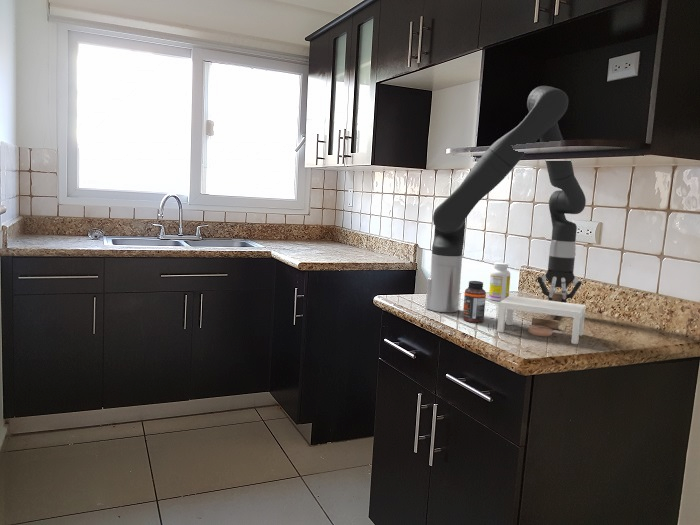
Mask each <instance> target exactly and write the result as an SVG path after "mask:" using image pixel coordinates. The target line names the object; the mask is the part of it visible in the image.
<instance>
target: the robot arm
mask: <svg viewBox="0 0 700 525" xmlns="http://www.w3.org/2000/svg"><path fill="white" fill-rule="evenodd" d="M568 106H569V96H568V95H567V93H566V92H565V91H563V90H562V89H560V88H556V87H553V86H548V85H540V86H537V87H535V88H534V89H532V91H530V93H529V95H528V97H527V101H526V108H527V109H528V113H527V115H525V117H524V118H523V120H522V121H520V122H519V124H518V125H517V126H515V127H513V129H511V130H510V131H508V132H506V133H505V134H504V135H503V136H501V137H500V138H498V139H497V140H496V141H494V142H493V143H492V144H491V145H490V146H489V148H488V149H486V150H485V152H484V153H483V154H482V156H481V157H480V158H479V159H478V160H477V162H476V163H474V165H473V167H472V168H471V170H470V171H469V172H468V174H467V175H466V176H465V177H464V179H463V181H462V182H461V183H460V184H459V185H458V187H457V188H456V189H455V190H454V191H453V192H452V193H451V194H450V195H449V196H448V197H447V198H446V199H444V201H442V203H440V204H439V205H438V206H437V207H436V208H435V210H434V212H433V214H432V222H433V225H434V235H433V236H434V237H433V241H432V242H433V243H432V246H431V263H430V277H428V278H427V289H426V303H425V304H426V306H425V308H426V310H430V311H433V312H440V313H457V312H458V311H459V306H460V293H461V292H460V290H461V278H462V277H461V275H462V262H463V253H464V252H463V250H464V245H465V244H464V243H465V232H466V219H467V217H468V216H469V215H470V213H471V212H472V211H473V209H475V206H476V205H477V204H478V203H479V202H480V201H481V200H482V199H483V198H484V197H485V196H487V195H488V194H490V193H491V191H492V190H494V189H495V188H496V187H497V186H498V185H499V184H500V183H501V182H502V181H503V180H504V179H505V178H506V177H507V176H508V175H509V173H511V171H513V169H514V168H515V167H516V165H517V164H518V163H520V161H521V159H522V158H523V157H524V156H526V154H527V153H524V152H518V151H515V150H513V148H512V146H511V145H513V146H514V145H516V144H526V143H534V144H535V143H536V142H537V141H538V140H539V142H540V143H541V142H549V141H560V140H564V138H563V135H562V133H561V130H560V127H559V123H558V121H560V120H561V118H562V117H563V116H565V115H564V114H565V113H566V112H567V110H568ZM571 161H572V160H571ZM571 161H546V160H545V164H546V169H547V173H548V178H549V179H548V180H549V182H550V184H551V185H552V186H553V187H555V188H557V189H558V190H555V191H554V192H553V193H551V195H550V197H549V199H548V209H549V214H550V219H551V225H552V226H551V228H552V232H551V239H550V240H551V241H550V245H549V253H548V254H549V255H548V261H547V262H548V264H547V271H546V273H545V275H541V276H538V277H537V282H538V284H539V286H540V288H541V292H542V294H543V295H544V296H547V297H548V301H552V298H553V294H554V293H555V292H556V289H557V288H560V289H561V292H562V302H564V303H567V300H568V299H572V298H573V297H574V296H575V294H576V293H577V291H578V290H579V289H580V287H581V285H582V284H583V281H582V280H578V279H577V278H576V276H575V274H574V268H575V259H576V249H577V248H576V242H577V241H576V240H577V239H576V237H577V229H578V227H577V224H576V223H575V222H572V221H570V220H568V219H567V217H566V215H567V214H568V215H569V214H570V215H580V214H581V213H582V212H583V211H584V210H585V208H586V203H587V201H586V200H587V199H586V195H585V193H584V191H583V189H582V187H581V186H580V184H579V182H578V180H577V178H576V177H575V176H576V175H575V172H574V167H573V162H571ZM565 214H566V215H565ZM546 280H547V281H548V282H549V285H550V289H549V290H548V287H547V286H546V282H547V281H546ZM572 283H573V286H574V287H573V288H572V290H571V291H570V293H568V287H569V285H570V284H572Z"/></svg>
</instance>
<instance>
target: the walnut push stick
mask: <svg viewBox="0 0 700 525" xmlns="http://www.w3.org/2000/svg"><path fill="white" fill-rule="evenodd" d="M552 301H556V302H562V291H555V293H554V294H553V298H552ZM556 317H557V315H549V314H546V316H545V317H544V318H542V317H534V316H533V317H532V318H531V319H532V320H531V325H541V326H546V327H549V328H551V329H552V330H558V329H559V327H560V326H559V325H560V321H559V320H555V318H556Z"/></svg>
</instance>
